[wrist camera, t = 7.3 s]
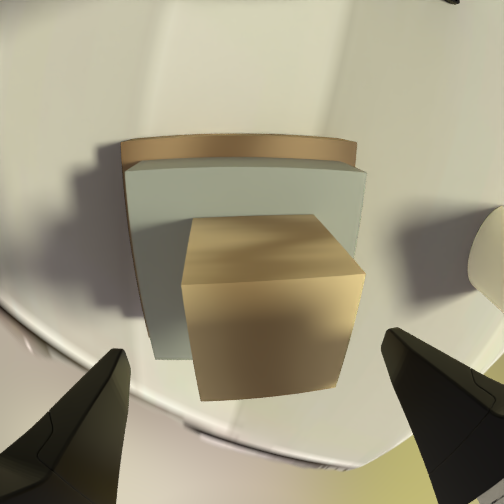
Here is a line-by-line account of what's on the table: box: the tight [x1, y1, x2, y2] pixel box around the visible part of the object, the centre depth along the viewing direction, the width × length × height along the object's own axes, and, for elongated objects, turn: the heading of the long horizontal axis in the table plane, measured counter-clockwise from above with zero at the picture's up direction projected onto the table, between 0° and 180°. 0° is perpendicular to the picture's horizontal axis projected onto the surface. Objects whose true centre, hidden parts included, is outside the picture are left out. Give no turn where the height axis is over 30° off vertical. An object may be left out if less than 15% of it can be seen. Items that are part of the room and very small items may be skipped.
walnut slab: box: [121, 134, 357, 337], centre depth 17 cm, size 12×12×3 cm
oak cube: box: [181, 214, 366, 401], centre depth 11 cm, size 5×5×5 cm
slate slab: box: [125, 157, 367, 360], centre depth 15 cm, size 10×10×3 cm
